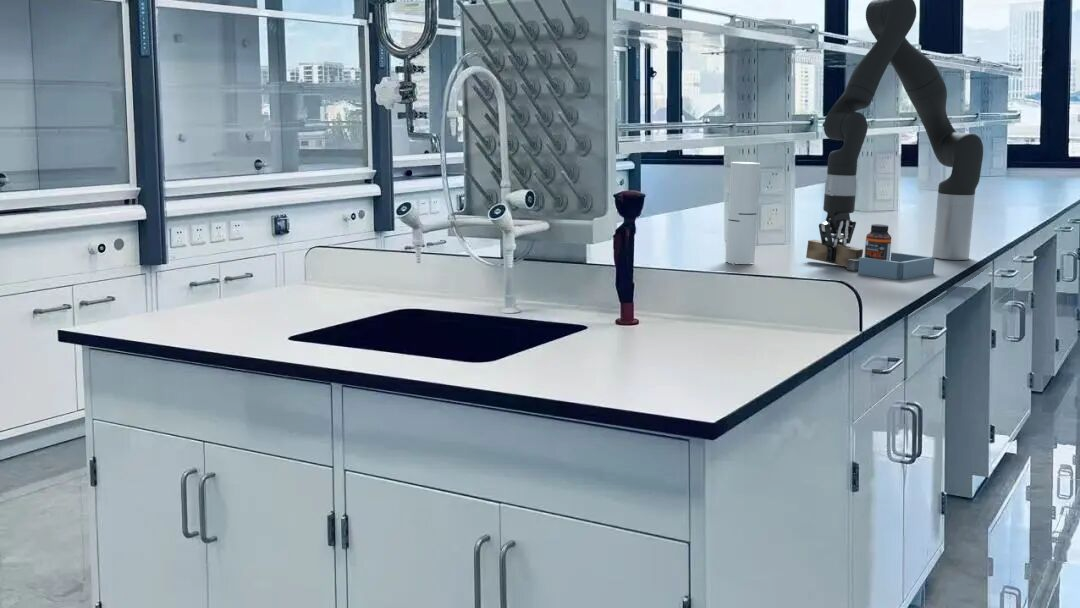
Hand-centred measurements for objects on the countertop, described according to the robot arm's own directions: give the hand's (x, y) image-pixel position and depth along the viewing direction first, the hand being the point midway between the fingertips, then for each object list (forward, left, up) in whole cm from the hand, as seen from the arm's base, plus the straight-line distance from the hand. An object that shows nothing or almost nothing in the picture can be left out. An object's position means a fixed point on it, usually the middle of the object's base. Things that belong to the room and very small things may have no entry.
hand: (834, 261), depth 281 cm
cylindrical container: (+17, -17, -1) cm, 24 cm away
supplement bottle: (0, +12, -1) cm, 12 cm away
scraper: (0, 0, 0) cm, 1 cm away
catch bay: (0, +16, -1) cm, 16 cm away
